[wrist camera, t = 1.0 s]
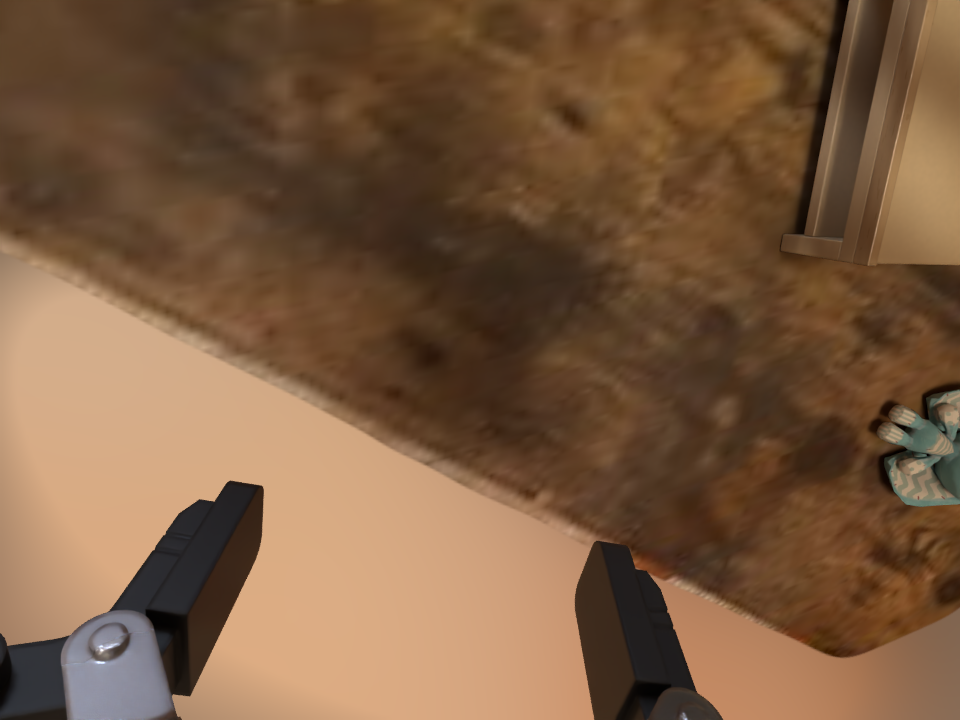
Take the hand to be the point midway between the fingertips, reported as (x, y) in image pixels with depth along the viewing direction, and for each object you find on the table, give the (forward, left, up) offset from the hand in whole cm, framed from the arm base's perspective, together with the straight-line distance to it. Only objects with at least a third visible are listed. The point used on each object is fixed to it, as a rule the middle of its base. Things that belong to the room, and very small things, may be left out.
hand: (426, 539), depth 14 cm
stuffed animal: (+10, +42, -26) cm, 50 cm away
